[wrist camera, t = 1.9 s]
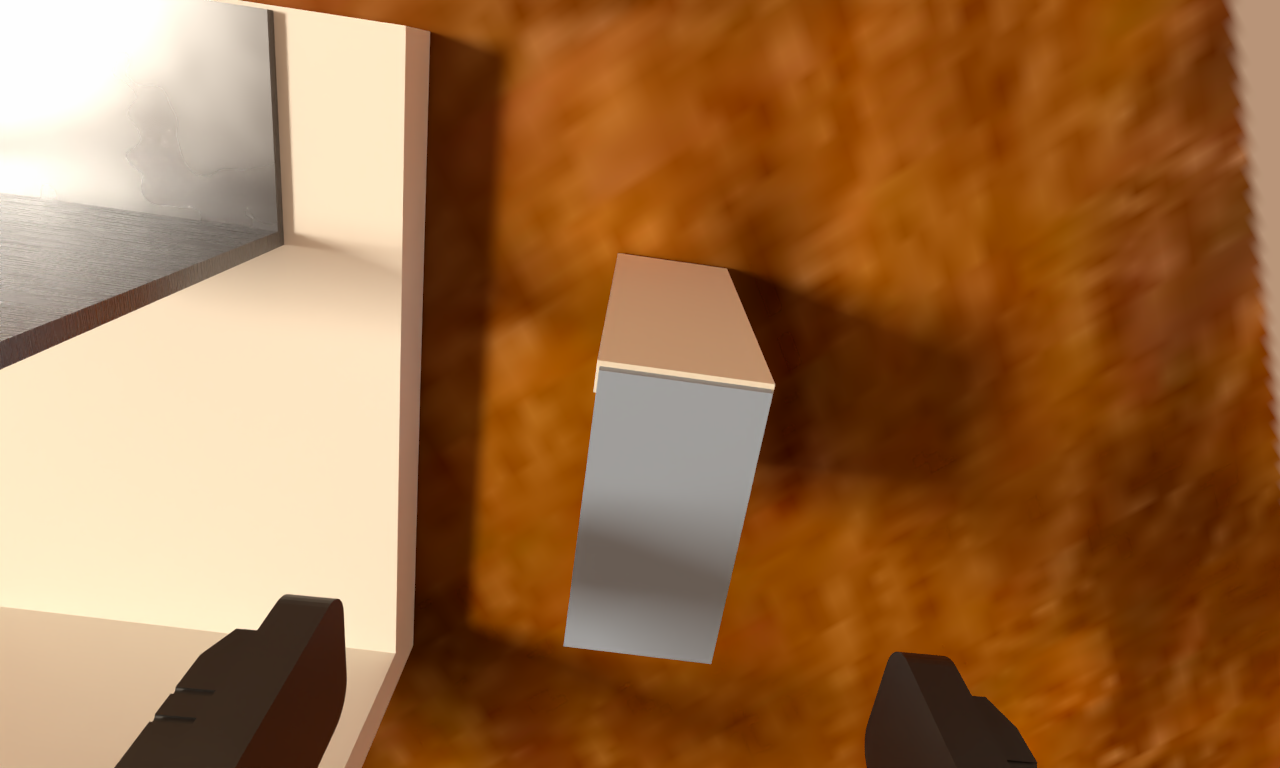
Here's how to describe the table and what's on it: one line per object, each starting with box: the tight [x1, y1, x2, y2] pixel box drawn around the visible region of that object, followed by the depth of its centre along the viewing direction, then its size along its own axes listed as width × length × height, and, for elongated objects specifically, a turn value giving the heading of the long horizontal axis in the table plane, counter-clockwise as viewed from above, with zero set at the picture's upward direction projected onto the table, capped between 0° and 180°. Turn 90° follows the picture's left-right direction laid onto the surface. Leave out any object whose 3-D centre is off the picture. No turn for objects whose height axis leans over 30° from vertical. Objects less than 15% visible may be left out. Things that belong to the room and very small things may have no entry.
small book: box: [564, 253, 775, 664], centre depth 18 cm, size 3×6×9 cm, turn 172°
